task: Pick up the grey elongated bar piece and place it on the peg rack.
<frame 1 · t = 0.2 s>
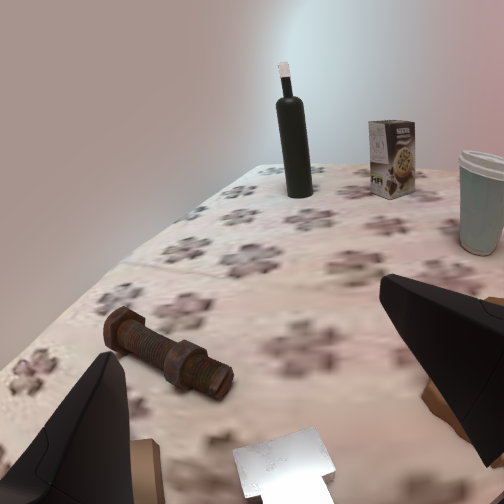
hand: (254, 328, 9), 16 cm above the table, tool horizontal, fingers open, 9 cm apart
coffee box: (393, 193, 61), on the table
wine bottle: (300, 194, 67), on the table
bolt: (171, 369, 29), on the table
disposable coffee cup: (478, 247, 37), on the table
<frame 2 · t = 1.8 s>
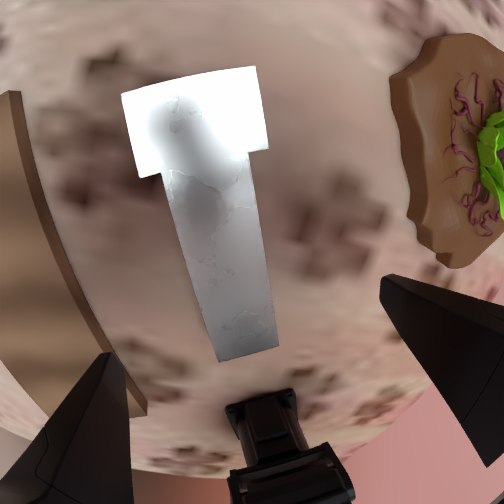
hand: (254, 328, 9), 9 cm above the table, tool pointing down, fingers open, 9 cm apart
plant: (469, 142, 20), on the table
peg rack: (23, 297, 16), on the table
grey elongated bar piece: (214, 221, 17), on the table
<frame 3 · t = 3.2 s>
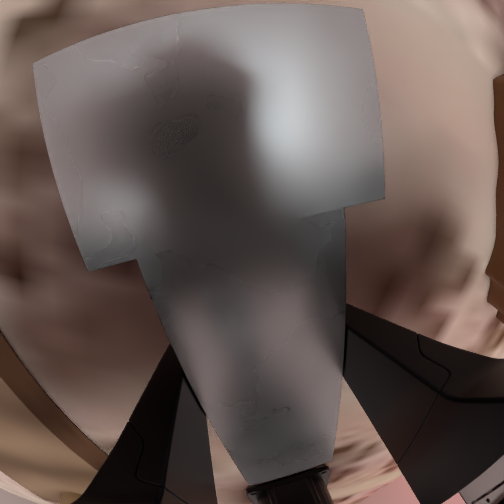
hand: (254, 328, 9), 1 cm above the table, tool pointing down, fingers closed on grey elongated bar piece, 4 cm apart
grey elongated bar piece: (246, 309, 10), on the table, touching gripper
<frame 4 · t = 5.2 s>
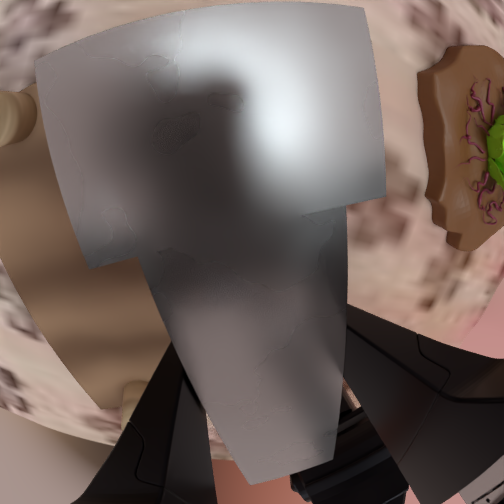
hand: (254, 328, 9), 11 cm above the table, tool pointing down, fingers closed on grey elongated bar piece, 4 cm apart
plant: (478, 139, 22), on the table
peg rack: (80, 271, 18), on the table
grey elongated bar piece: (247, 308, 10), point 10 cm above the table, touching gripper
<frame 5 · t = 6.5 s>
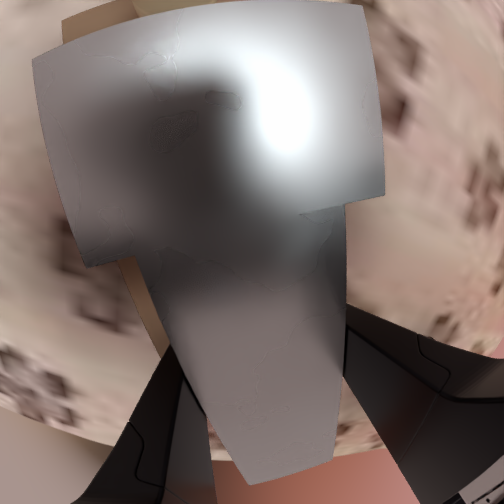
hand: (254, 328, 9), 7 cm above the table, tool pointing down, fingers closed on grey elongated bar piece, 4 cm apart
peg rack: (217, 235, 15), on the table
grey elongated bar piece: (246, 308, 10), point 6 cm above the table, touching gripper
when the fingers open (3 cm above the table, at t = 7.5 s): grey elongated bar piece stays where it is, resting on peg rack.
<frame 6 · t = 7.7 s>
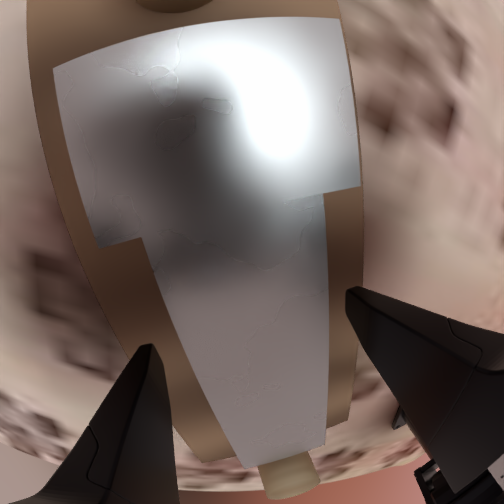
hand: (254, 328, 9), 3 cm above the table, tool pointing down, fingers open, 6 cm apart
peg rack: (232, 273, 12), on the table
grey elongated bar piece: (240, 293, 11), point 1 cm above the table, touching peg rack
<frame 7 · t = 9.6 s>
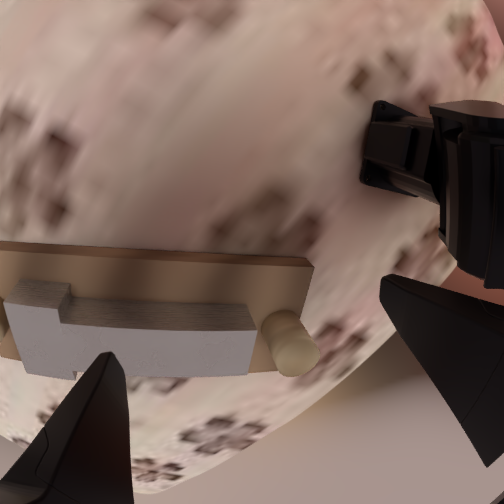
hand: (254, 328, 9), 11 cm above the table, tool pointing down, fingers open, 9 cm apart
peg rack: (130, 312, 20), on the table
grey elongated bar piece: (129, 324, 19), point 1 cm above the table, touching peg rack
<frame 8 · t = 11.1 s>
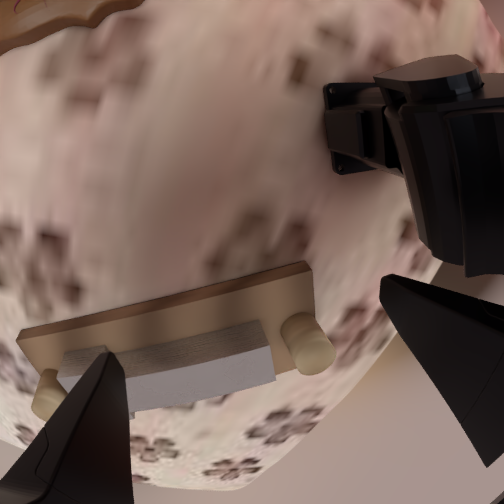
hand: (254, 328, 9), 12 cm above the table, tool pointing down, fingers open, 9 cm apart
peg rack: (165, 349, 23), on the table
grey elongated bar piece: (165, 362, 22), point 1 cm above the table, touching peg rack
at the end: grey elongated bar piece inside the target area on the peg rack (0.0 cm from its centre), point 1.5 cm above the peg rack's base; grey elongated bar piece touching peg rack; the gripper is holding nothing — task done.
